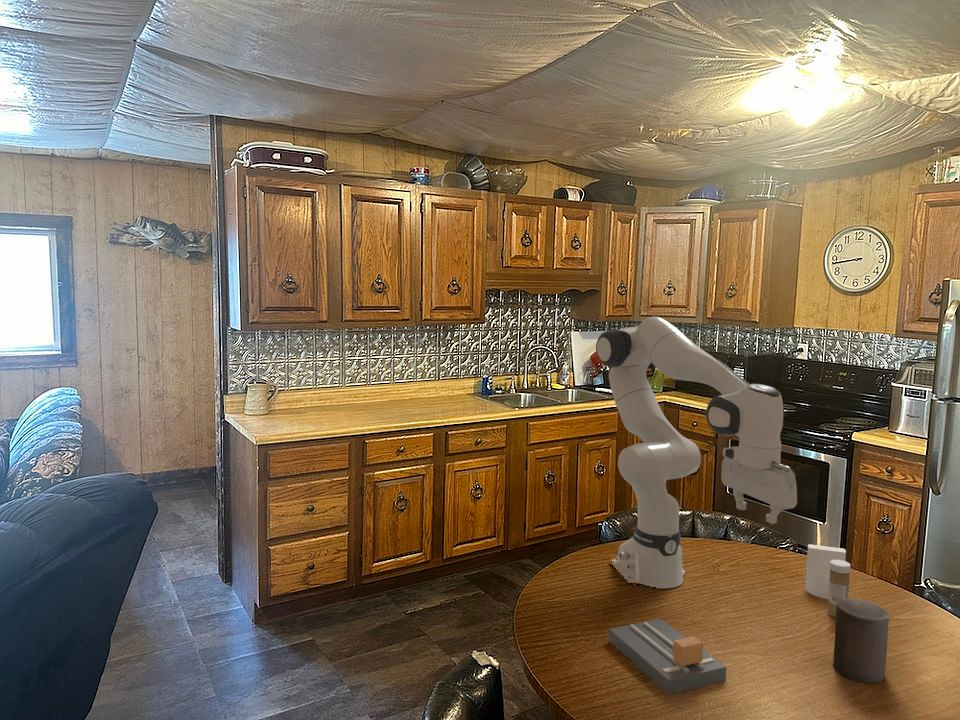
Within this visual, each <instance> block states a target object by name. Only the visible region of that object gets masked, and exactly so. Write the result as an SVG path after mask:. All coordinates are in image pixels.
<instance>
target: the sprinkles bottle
mask: <svg viewBox="0 0 960 720" xmlns="http://www.w3.org/2000/svg"><path fill="white" fill-rule="evenodd" d="M851 568H852V566H851V563H850V562H848V561H846V560H845V561H843V560H831V561H830V580H829V599H827V600H828V607H827V608H828V609H827V615H829V616H831V617H833V618H835V619H836V609H837V602H838V601H840V600H842V599H847V598H849V596H850V591H849V590H850V573H851Z"/></svg>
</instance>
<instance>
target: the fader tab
mask: <svg viewBox="0 0 960 720" xmlns="http://www.w3.org/2000/svg"><path fill="white" fill-rule="evenodd" d="M703 647H704V642H703V641H701V640H700V639H699V638H697V637H695V636H694V635H692V636H686V638H682V639H677V640H674V641H673V659H674V660H675V661H676V662H677V663H679V664H680V665H681V666H689V665H692V664H694V663H698V662H702V657H703V650H704V648H703Z"/></svg>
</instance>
